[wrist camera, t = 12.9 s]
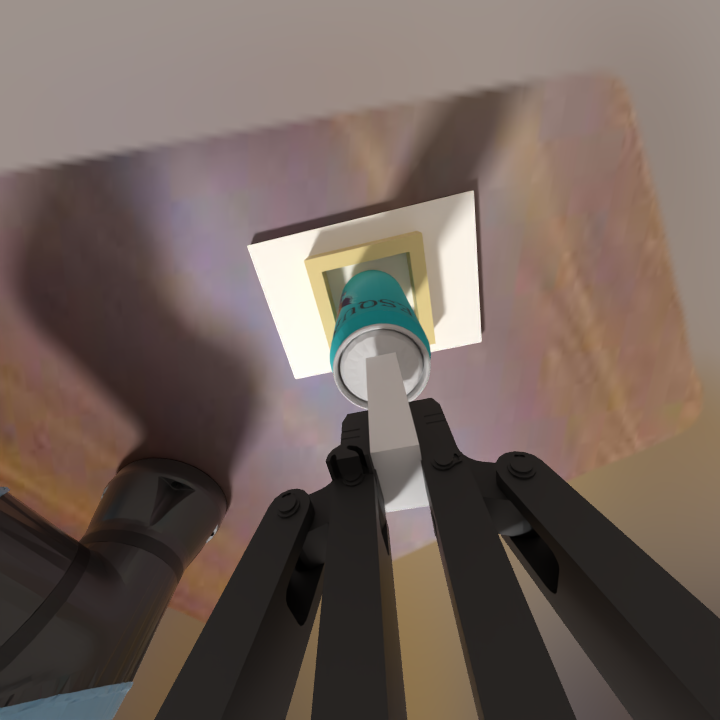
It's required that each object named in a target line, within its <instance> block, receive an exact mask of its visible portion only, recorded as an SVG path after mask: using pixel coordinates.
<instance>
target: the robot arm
mask: <svg viewBox="0 0 720 720" xmlns="http://www.w3.org/2000/svg"><path fill="white" fill-rule="evenodd" d="M366 376H367V397H368V411H362V412H357V413H351V414H347V416H346V418H345V419H344V421H343V422H342V433H341V445H339V446H338V447H336V448H335V449H333V450H332V451H331V452H330V454H329V455H328V457H327V459H326V464H327V467H328V469H329V472H330V475H331V478H332V480H333V481H332V482H331V483H330V484H328V485H327V486H326V487H324V488H322V489H321V490H318V491H316V492H314V493H312V494H310V495H308V494H307V493H306V492H305V491H304V490H300V489H291V490H288V491H286V492H283V493H281V494H280V495H279V496H278V497H276V498H275V499H274V501H273V502H272V503H271V505H270V506H269V508H268V510H267V511H266V513H265V515H264V517H263V519H262V521H261V523H260V524H259V526H258V528H257V530H256V532H255V534H254V536H253V537H252V539H251V541H250V543H249V545H248V547H247V549H246V550H245V552H244V554H243V556H242V558H241V560H240V562H239V563H238V565H237V567H236V569H235V571H234V573H233V575H232V576H231V578H230V580H229V582H228V584H227V586H226V588H225V589H224V591H223V593H222V595H221V597H220V599H219V601H218V602H217V604H216V606H215V608H214V610H213V612H212V614H211V615H210V617H209V619H208V621H207V623H206V625H205V627H204V628H203V631H202V633H201V634H200V636H199V638H198V640H197V641H196V643H195V645H194V647H193V649H192V651H191V653H190V655H189V656H188V658H187V660H186V662H185V664H184V666H183V667H182V669H181V671H180V673H179V675H178V677H177V679H176V680H175V682H174V684H173V686H172V688H171V690H170V692H169V693H168V695H167V697H166V699H165V701H164V703H163V705H162V706H161V708H160V710H159V712H158V714H157V716H156V717H155V719H154V720H285V719H286V715H287V712H288V709H289V705H290V702H291V698H292V695H293V692H294V688H295V685H296V681H297V678H298V674H299V671H300V668H301V664H302V661H303V657H304V654H305V651H306V647H307V644H308V640H309V637H310V634H311V630H312V627H313V623H314V620H315V616H316V613H317V609H318V606H319V603H320V600H321V596H322V604H321V615H320V627H319V637H318V648H317V658H316V670H315V681H314V692H313V703H312V714H311V720H407V712H406V702H405V692H404V682H403V672H402V661H401V650H400V640H399V630H398V620H397V610H396V599H395V589H394V580H393V579H394V578H393V568H392V558H391V548H390V537H389V528H388V524H387V520H386V514H385V509H386V512H392V511H399V510H405V509H412V508H418V507H425V506H430V510H431V516H432V521H433V527H434V532H435V536H436V538H437V543H438V546H439V551H440V556H441V560H442V564H443V568H444V573H445V577H446V581H447V586H448V590H449V594H450V598H451V603H452V607H453V611H454V615H455V620H456V624H457V628H458V633H459V637H460V642H461V646H462V650H463V654H464V659H465V663H466V667H467V671H468V676H469V680H470V685H471V689H472V693H473V697H474V702H475V706H476V710H477V715H478V719H479V720H576V717H575V715H574V712H573V710H572V708H571V706H570V703H569V701H568V698H567V696H566V694H565V691H564V689H563V686H562V684H561V682H560V680H559V677H558V675H557V672H556V670H555V668H554V665H553V663H552V661H551V658H550V656H549V653H548V651H547V649H546V646H545V644H544V642H543V639H542V637H541V635H540V632H539V630H538V627H537V625H536V623H535V620H534V618H533V616H532V613H531V611H530V609H529V606H528V604H527V601H526V599H525V597H524V595H523V592H522V590H521V587H520V585H519V583H518V580H517V578H516V576H515V573H514V571H513V568H512V566H511V564H510V561H509V559H508V557H507V554H506V552H505V549H504V547H503V545H502V542H501V540H500V538H499V535H498V534H501V536H502V538H503V539H504V540H505V542H506V543H507V545H508V546H509V547H510V549H511V550H512V551H513V553H514V554H515V556H516V557H517V559H518V560H519V561H520V563H521V564H522V565H523V567H524V568H525V570H526V571H527V572H528V574H529V575H530V577H531V578H532V579H533V581H534V582H535V584H536V585H537V586H538V588H539V589H540V591H541V592H542V593H543V594H544V596H545V597H546V599H547V600H548V601H549V603H550V604H551V606H552V607H553V608H554V610H555V611H556V613H557V614H558V616H559V617H560V618H561V620H562V621H563V622H564V624H565V625H566V627H567V628H568V629H569V631H570V632H571V634H572V635H573V636H574V638H575V639H576V641H577V642H578V643H579V645H580V646H581V648H582V649H583V650H584V652H585V653H586V654H587V656H588V657H589V659H590V660H591V661H592V663H593V664H594V666H595V667H596V668H597V670H598V671H599V673H600V674H601V675H602V677H603V678H604V680H605V681H606V682H607V684H608V685H609V686H610V688H611V689H612V691H613V692H614V693H615V695H616V696H617V697H618V699H619V700H620V702H621V703H622V705H623V706H624V707H625V709H626V710H627V711H628V713H629V714H630V716H631V717H632V718H633V720H720V619H719V618H718V617H717V616H716V615H715V614H714V613H713V612H712V611H710V610H709V609H708V608H707V607H706V606H705V605H704V604H703V603H701V602H700V601H699V600H698V599H697V598H696V597H695V596H693V595H692V594H691V593H690V592H689V591H688V590H687V589H686V588H685V587H683V586H682V585H681V584H680V583H679V582H678V581H677V580H676V579H674V578H673V577H672V576H671V575H670V574H669V573H668V572H667V571H665V570H664V569H663V568H662V567H661V566H660V565H659V564H658V563H656V562H655V561H654V560H653V559H652V558H651V557H650V556H649V555H647V554H646V553H645V552H644V551H643V550H642V549H641V548H639V546H637V545H636V544H635V543H634V542H633V541H632V540H631V539H630V538H628V537H627V536H626V535H624V533H623V532H622V531H621V530H619V529H618V528H617V527H616V526H615V525H614V524H613V523H612V522H610V521H609V520H608V519H607V518H606V517H605V516H604V515H603V514H601V513H600V512H599V511H598V510H597V509H596V508H595V507H594V506H592V505H591V504H590V503H589V502H588V501H587V500H586V499H585V498H583V497H582V496H581V495H580V494H579V493H578V492H577V491H576V490H574V489H573V488H572V487H571V486H570V485H569V484H568V483H567V482H565V481H564V480H563V479H562V478H561V477H560V476H559V475H558V474H556V473H555V472H554V471H553V470H552V469H551V468H550V467H549V466H547V465H546V464H545V463H544V462H543V461H542V460H540V459H539V458H537V457H536V456H534V455H531V454H528V453H525V452H516V451H514V452H509V453H505V454H503V455H502V456H500V457H499V458H498V460H497V462H496V463H491V462H481V461H476V460H473V459H470V458H468V457H467V456H465V455H463V454H462V452H460V451H459V449H458V447H457V445H456V443H455V440H454V438H453V435H452V433H451V431H450V428H449V426H448V423H447V421H446V418H445V416H444V414H443V411H442V409H441V406H440V404H439V403H438V402H436V401H435V400H434V399H432V398H428V399H422V400H417V401H411V402H408V399H407V395H406V391H405V387H404V383H403V379H402V376H401V372H400V368H399V364H398V360H397V356H396V352H394V353H389V354H384V355H379V356H374V357H369V358H366ZM8 491H10V489H9V488H7V487H0V720H112V719H113V718H114V716H115V714H116V712H117V710H118V708H119V706H120V705H121V703H122V701H123V699H124V697H125V695H126V693H127V691H128V690H130V688H131V687H132V684H133V682H132V681H133V679H134V676H135V674H136V672H137V670H138V668H139V666H140V664H141V661H142V659H143V657H144V655H145V653H146V651H147V649H148V647H149V644H150V642H151V640H152V638H153V636H154V634H155V632H156V630H157V628H158V626H159V623H160V621H161V619H162V617H163V615H164V613H165V611H166V609H167V606H168V604H169V602H170V600H171V598H172V596H173V594H174V592H175V590H176V587H177V585H178V583H179V581H180V579H181V577H182V575H183V573H184V571H185V569H186V568H187V567H188V565H189V564H190V563H191V562H192V561H193V560H194V558H195V557H196V556H197V555H198V553H199V552H200V551H201V549H202V548H203V547H204V545H205V543H207V542H208V541H209V540H210V539H212V537H213V536H214V535H215V534H216V532H217V531H218V529H219V527H220V525H221V523H222V520H223V518H224V516H225V513H226V508H227V505H226V499H225V496H224V494H223V492H222V490H221V489H220V487H219V486H218V485H217V484H216V482H214V481H213V480H212V479H211V478H210V477H209V476H208V475H206V474H205V473H203V472H202V471H200V470H198V469H196V468H194V467H192V466H190V465H187V464H185V463H182V462H178V461H174V460H169V459H159V458H152V459H143V460H138V461H135V462H132V463H130V464H128V465H126V466H125V467H123V468H122V469H121V470H120V471H119V472H118V473H117V474H116V476H115V477H114V478H113V479H112V480H111V481H110V482H109V483H108V485H107V486H106V488H105V490H104V492H103V495H102V498H101V501H100V503H99V505H98V507H97V509H96V511H95V514H94V516H93V518H92V520H91V522H90V525H89V527H88V529H87V531H86V533H85V535H84V536H83V537H82V539H81V540H80V541H79V542H78V541H77V540H75V539H74V538H72V537H71V536H70V535H68V534H67V533H65V532H64V531H62V530H61V529H59V528H58V527H56V526H55V525H53V524H52V523H50V522H49V521H48V520H46V519H45V518H43V517H42V516H41V515H39V514H38V513H36V512H35V511H34V510H32V509H31V508H29V507H28V506H26V505H25V504H24V503H22V502H21V501H19V500H18V499H17V498H15V497H14V496H12V495H11V494H10V493H8Z"/></svg>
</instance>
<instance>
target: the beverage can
mask: <svg viewBox="0 0 720 720" xmlns="http://www.w3.org/2000/svg"><path fill="white" fill-rule="evenodd" d="M394 352H396V356H397V360H398V364H399V368H400V372H401V376H402V379H403V383H404V387H405V391H406V395H407V399H408V402H411V401H413V400H414V399H415V398H416V397H417V396H418V395H419V394H420V393H421V392H422V391H423V389H424V388H425V386H426V384H427V382H428V379H429V375H430V368H431V365H430V358H431V351H430V345H429V341H428V339H427V336H426V334H425V332H424V330H423V328H422V326H421V324H420V323H419V321H418V319H417V317H416V315H415V313H414V311H413V309H412V307H411V305H410V303H409V301H408V300H407V298H406V296H405V294H404V292H403V290H402V288H401V286H400V285H399V283H398V282H397V281H396V279H395V278H394V277H392V276H391V275H389V274H388V273H386V272H383V271H379V270H367V271H363V272H360V273H358V274H356V275H355V276H353V277H352V278H351V279H350V280H349V281H348V282H347V284H346V285H345V287H344V289H343V291H342V295H341V299H340V304H339V309H338V314H337V319H336V324H335V328H334V333H333V338H332V343H331V348H330V365H331V369H332V372H333V375H334V380H335V382H336V385H337V387H338V389H339V390H340V392H341V393H342V395H343V396H344V397H345V398H346V399H347V400H349V401H350V402H351V403H353V404H355V405H356V406H358V407H361V408H363V409H367V410H368V397H367V376H366V358H369V357H374V356H379V355H384V354H389V353H394Z"/></svg>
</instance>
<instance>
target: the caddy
mask: <svg viewBox="0 0 720 720" xmlns="http://www.w3.org/2000/svg"><path fill="white" fill-rule="evenodd" d="M247 247H248V250H249V253H250V256H251V258H252V261H253V264H254V267H255V269H256V272H257V275H258V278H259V280H260V283H261V286H262V289H263V291H264V294H265V297H266V300H267V302H268V305H269V308H270V311H271V313H272V316H273V319H274V322H275V324H276V327H277V330H278V333H279V335H280V338H281V341H282V344H283V346H284V349H285V352H286V355H287V358H288V360H289V363H290V366H291V369H292V371H293V374H294V377H295V379H298V378H303V377H308V376H313V375H318V374H323V373H328V372H332V369H331V365H330V348H331V343H332V338H333V333H334V328H335V324H336V319H337V314H338V309H339V304H340V299H341V295H342V291H343V289H344V287H345V285H346V284H347V282H348V281H349V280H350V279H351V278H352V277H353V276H355V275H356V274H358V273H360V272H363V271H367V270H379V271H383V272H386V273H388V274H389V275H391V276H392V277H394V278H395V279H396V281H397V282H398V283H399V285H400V286H401V288H402V290H403V292H404V294H405V296H406V298H407V300H408V301H409V303H410V305H411V307H412V309H413V311H414V313H415V315H416V317H417V319H418V321H419V323H420V324H421V326H422V328H423V330H424V332H425V334H426V336H427V339H428V341H429V345H430V351H431V352H434V351H439V350H444V349H449V348H454V347H459V346H464V345H469V344H474V343H479V342H482V340H481V321H480V302H479V283H478V263H477V244H476V225H475V206H474V190H473V191H468V192H464V193H460V194H455V195H451V196H447V197H443V198H439V199H435V200H431V201H427V202H423V203H419V204H415V205H411V206H406V207H402V208H398V209H394V210H390V211H386V212H382V213H378V214H374V215H370V216H366V217H362V218H357V219H353V220H349V221H345V222H341V223H337V224H333V225H329V226H325V227H321V228H317V229H313V230H308V231H304V232H300V233H296V234H292V235H288V236H284V237H280V238H276V239H272V240H268V241H264V242H259V243H255V244H251V245H248V246H247Z"/></svg>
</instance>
